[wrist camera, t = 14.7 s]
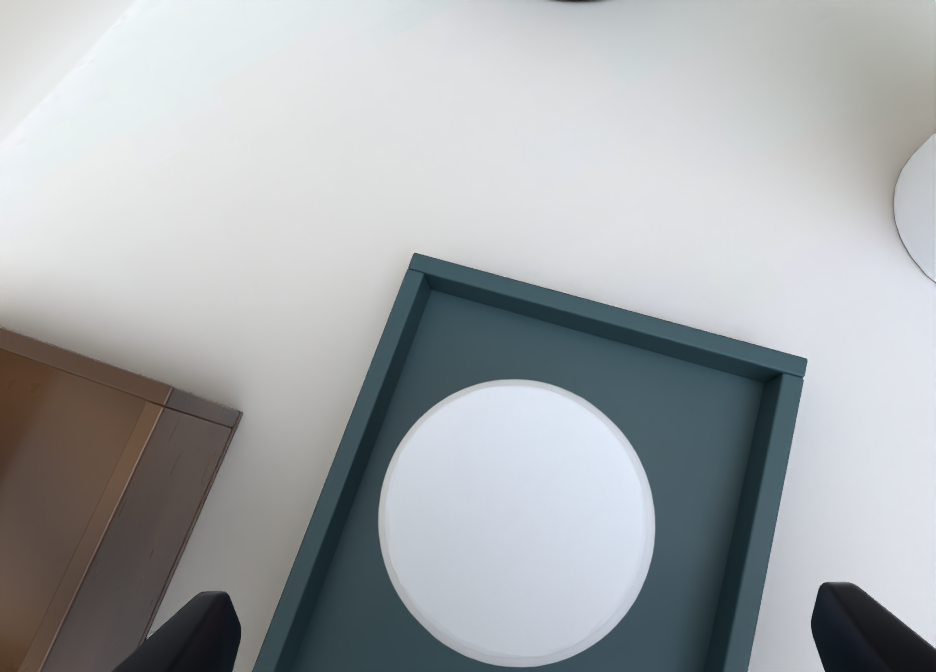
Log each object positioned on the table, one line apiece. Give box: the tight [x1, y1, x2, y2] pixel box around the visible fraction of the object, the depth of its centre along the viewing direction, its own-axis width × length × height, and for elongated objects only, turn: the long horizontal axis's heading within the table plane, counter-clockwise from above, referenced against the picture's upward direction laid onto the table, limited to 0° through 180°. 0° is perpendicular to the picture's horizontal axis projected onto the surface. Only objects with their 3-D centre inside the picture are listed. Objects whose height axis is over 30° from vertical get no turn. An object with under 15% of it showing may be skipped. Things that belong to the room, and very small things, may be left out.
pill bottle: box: [378, 379, 655, 667], centre depth 14 cm, size 6×5×10 cm
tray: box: [252, 253, 807, 672], centre depth 17 cm, size 19×12×2 cm, turn 161°
